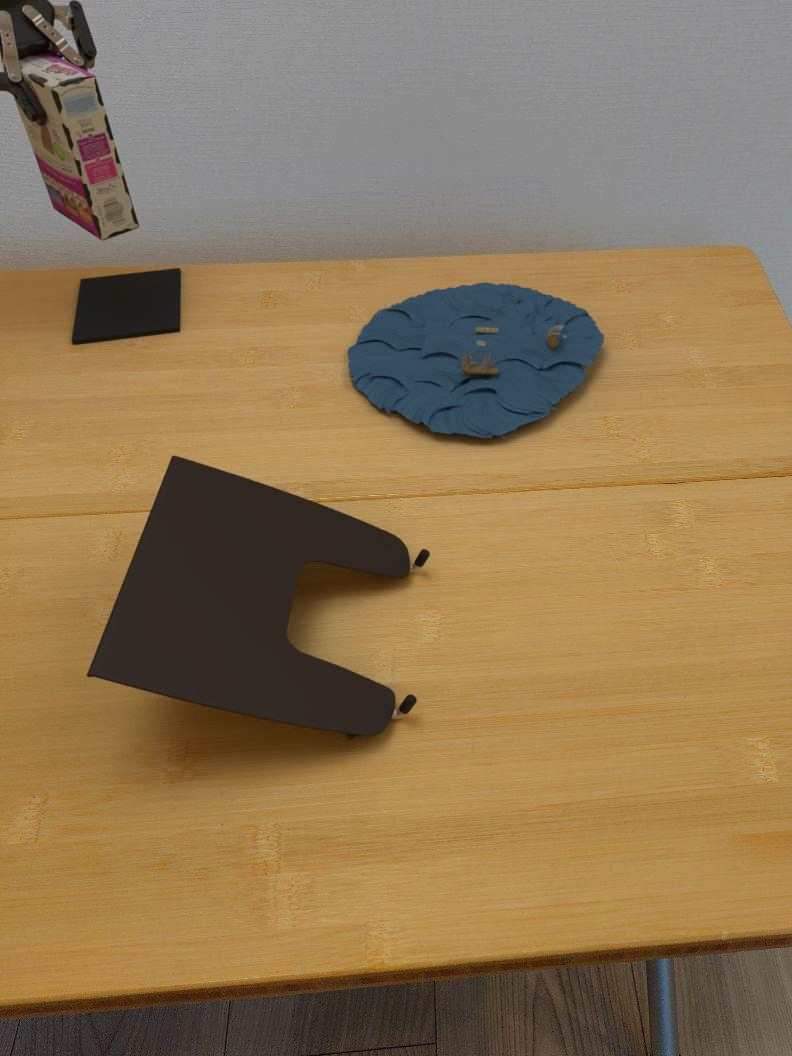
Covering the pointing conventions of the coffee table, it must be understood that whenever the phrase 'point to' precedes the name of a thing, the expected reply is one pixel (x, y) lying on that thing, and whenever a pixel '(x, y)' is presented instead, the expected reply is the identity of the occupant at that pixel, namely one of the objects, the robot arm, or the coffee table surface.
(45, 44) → the robot arm
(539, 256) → the coffee table surface
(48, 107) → the candy bar box
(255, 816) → the coffee table surface
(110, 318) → the mat
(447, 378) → the blue wavy sea disc
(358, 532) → the laptop tray
